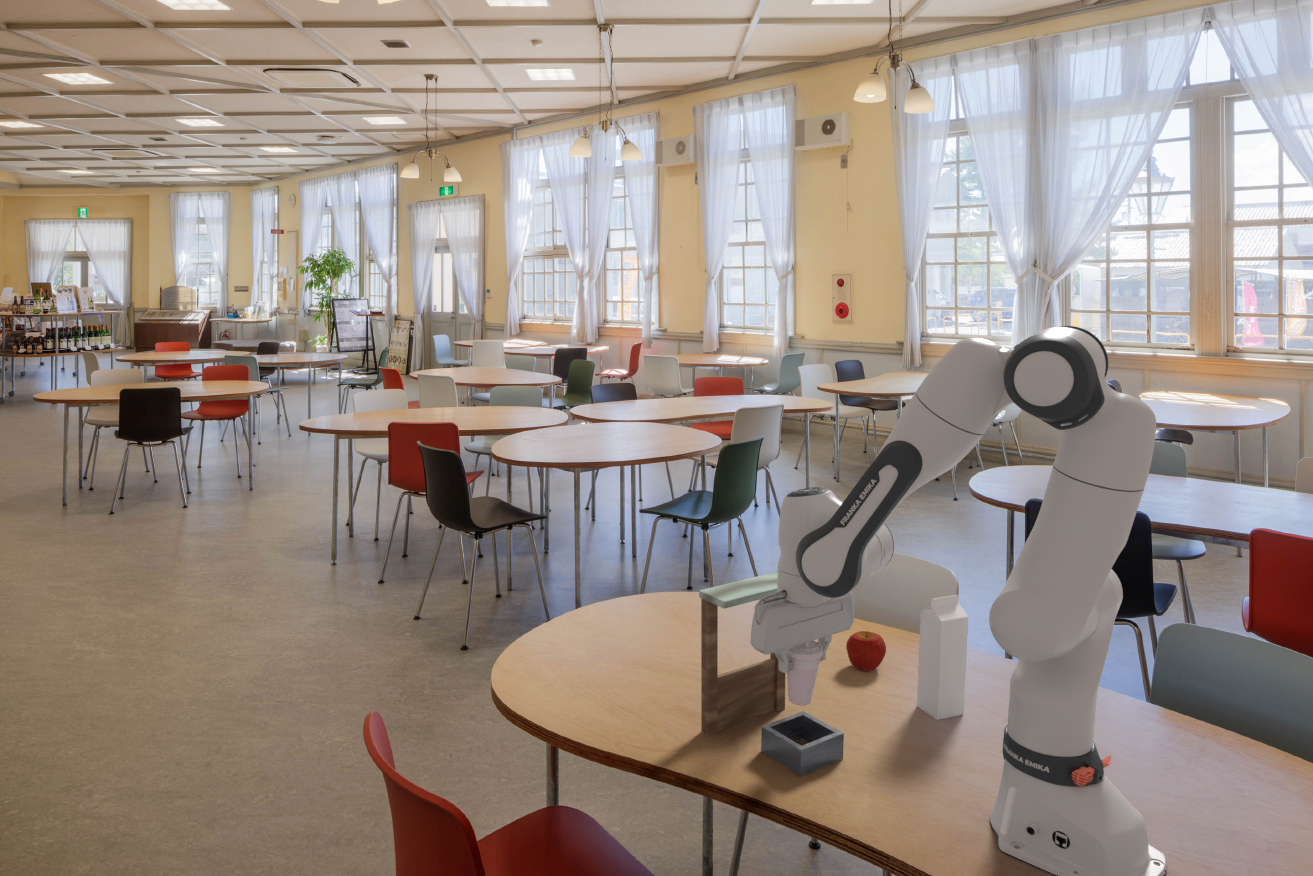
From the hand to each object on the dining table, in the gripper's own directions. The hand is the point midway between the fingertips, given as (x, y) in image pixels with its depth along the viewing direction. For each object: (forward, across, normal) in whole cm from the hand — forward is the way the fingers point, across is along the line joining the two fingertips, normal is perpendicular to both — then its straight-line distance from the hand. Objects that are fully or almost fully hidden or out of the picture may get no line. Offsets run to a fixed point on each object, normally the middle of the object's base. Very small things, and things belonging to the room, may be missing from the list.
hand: (802, 665), depth 143 cm
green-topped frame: (+16, 0, +12) cm, 20 cm away
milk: (+16, +32, -3) cm, 36 cm away
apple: (+16, +35, +18) cm, 42 cm away
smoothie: (+6, 0, 0) cm, 7 cm away
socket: (+16, 0, 0) cm, 16 cm away
